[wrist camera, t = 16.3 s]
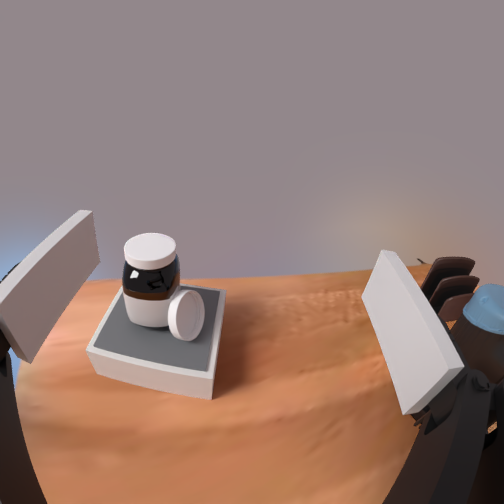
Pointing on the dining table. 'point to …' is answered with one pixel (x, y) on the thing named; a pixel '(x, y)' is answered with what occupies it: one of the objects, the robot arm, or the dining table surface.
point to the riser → (160, 349)
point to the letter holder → (450, 286)
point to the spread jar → (159, 288)
